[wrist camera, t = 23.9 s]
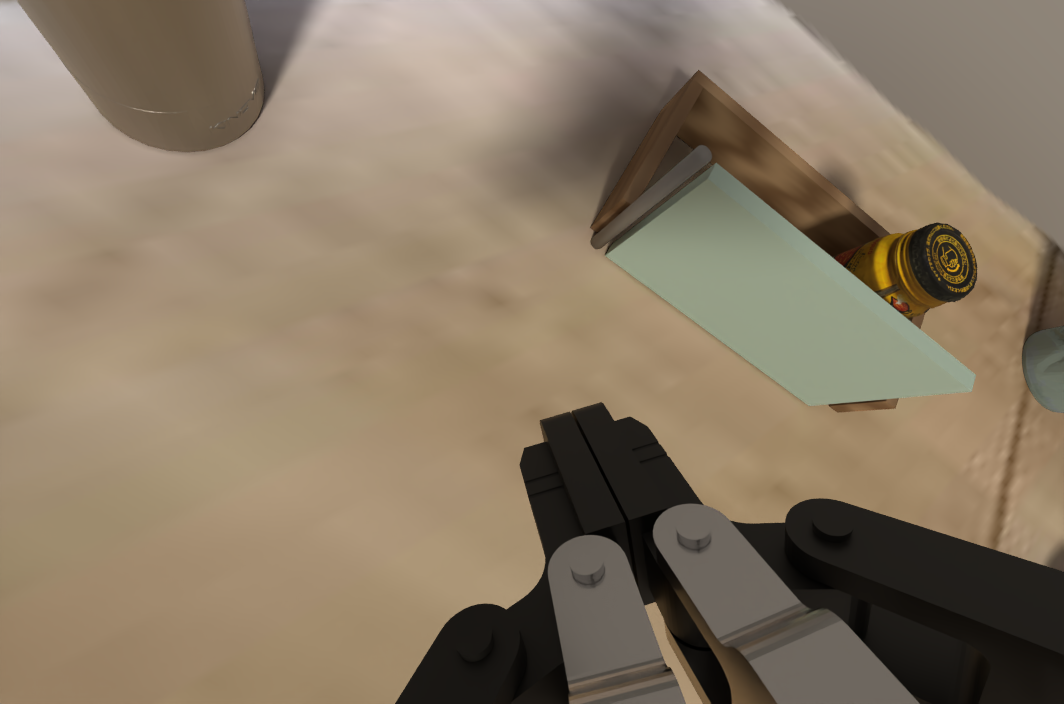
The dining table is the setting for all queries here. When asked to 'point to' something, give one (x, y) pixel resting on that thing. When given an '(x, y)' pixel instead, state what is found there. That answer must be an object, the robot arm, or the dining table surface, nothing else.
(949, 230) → the condiment
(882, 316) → the cover door
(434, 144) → the dining table surface
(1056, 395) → the blue-grey cup
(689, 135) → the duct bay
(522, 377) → the dining table surface
